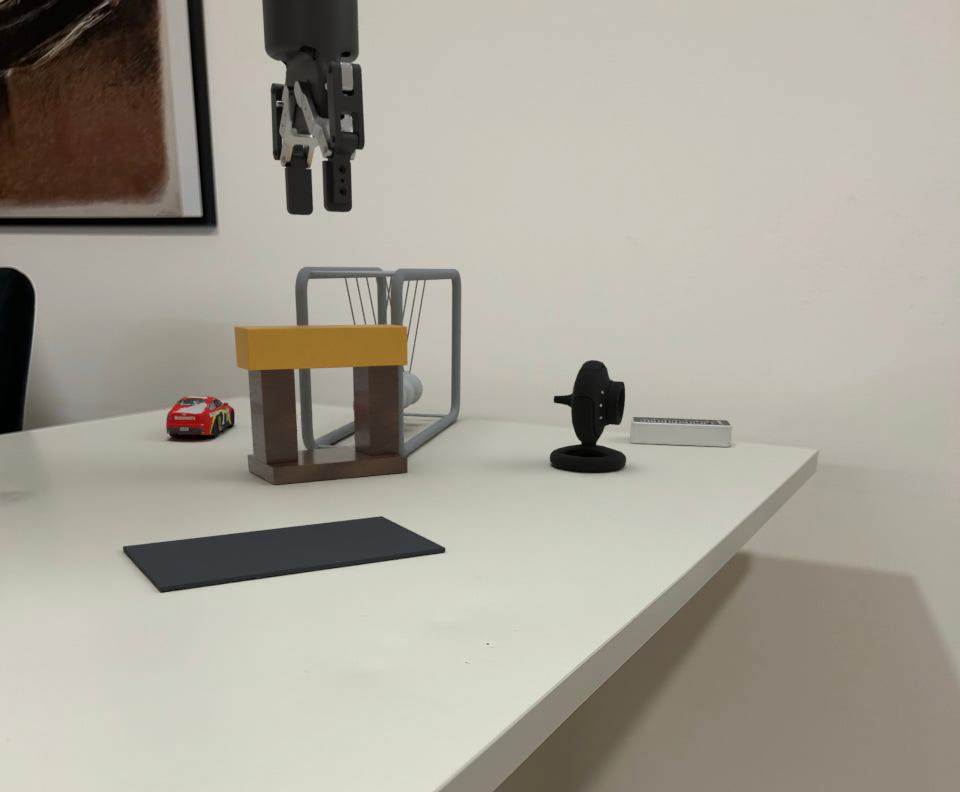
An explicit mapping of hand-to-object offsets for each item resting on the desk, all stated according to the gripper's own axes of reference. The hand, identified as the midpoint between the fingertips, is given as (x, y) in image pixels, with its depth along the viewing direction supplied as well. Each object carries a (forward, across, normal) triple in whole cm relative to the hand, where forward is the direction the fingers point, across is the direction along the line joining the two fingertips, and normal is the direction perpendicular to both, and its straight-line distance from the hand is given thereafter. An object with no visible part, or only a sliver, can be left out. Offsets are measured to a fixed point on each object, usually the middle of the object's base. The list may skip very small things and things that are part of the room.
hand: (318, 213), depth 84 cm
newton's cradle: (+22, -16, +14) cm, 31 cm away
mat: (+22, +24, -13) cm, 35 cm away
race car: (+22, -27, -4) cm, 35 cm away
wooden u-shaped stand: (+22, 0, 0) cm, 22 cm away
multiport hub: (+22, +1, +42) cm, 48 cm away
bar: (+13, 0, 0) cm, 13 cm away
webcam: (+22, +8, +24) cm, 34 cm away
